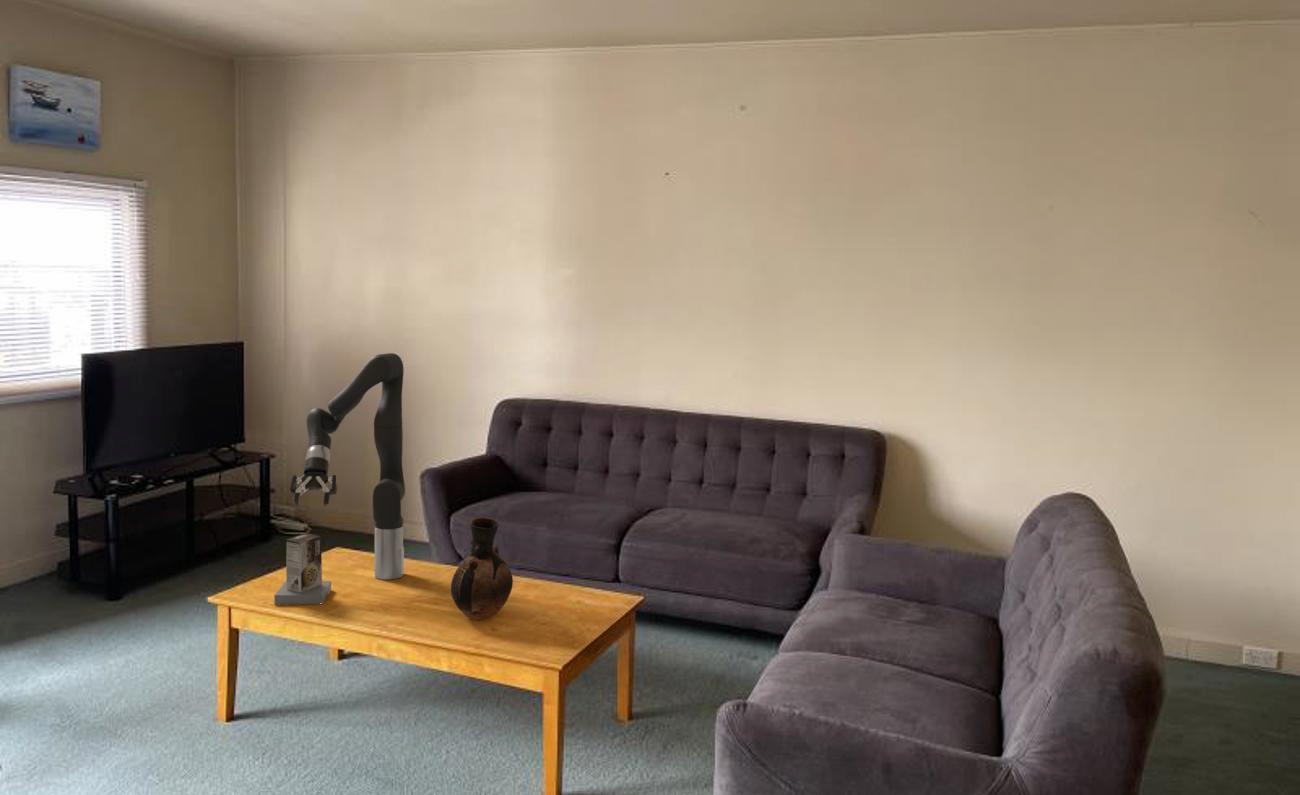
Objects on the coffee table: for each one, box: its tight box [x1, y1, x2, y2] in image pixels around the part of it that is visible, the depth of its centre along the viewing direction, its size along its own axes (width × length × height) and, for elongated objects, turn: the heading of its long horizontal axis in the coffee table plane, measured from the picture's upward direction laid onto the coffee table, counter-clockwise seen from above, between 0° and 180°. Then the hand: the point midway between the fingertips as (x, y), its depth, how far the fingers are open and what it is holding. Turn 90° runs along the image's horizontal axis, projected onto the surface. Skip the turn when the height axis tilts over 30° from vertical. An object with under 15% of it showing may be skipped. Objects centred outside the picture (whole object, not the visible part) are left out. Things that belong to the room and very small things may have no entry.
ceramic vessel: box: [450, 517, 514, 621], centre depth 290 cm, size 21×18×30 cm
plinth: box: [273, 580, 332, 605], centre depth 304 cm, size 14×14×3 cm
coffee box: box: [285, 532, 323, 593], centre depth 303 cm, size 9×6×16 cm
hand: (311, 504), depth 311 cm, fingers open, 8 cm apart
